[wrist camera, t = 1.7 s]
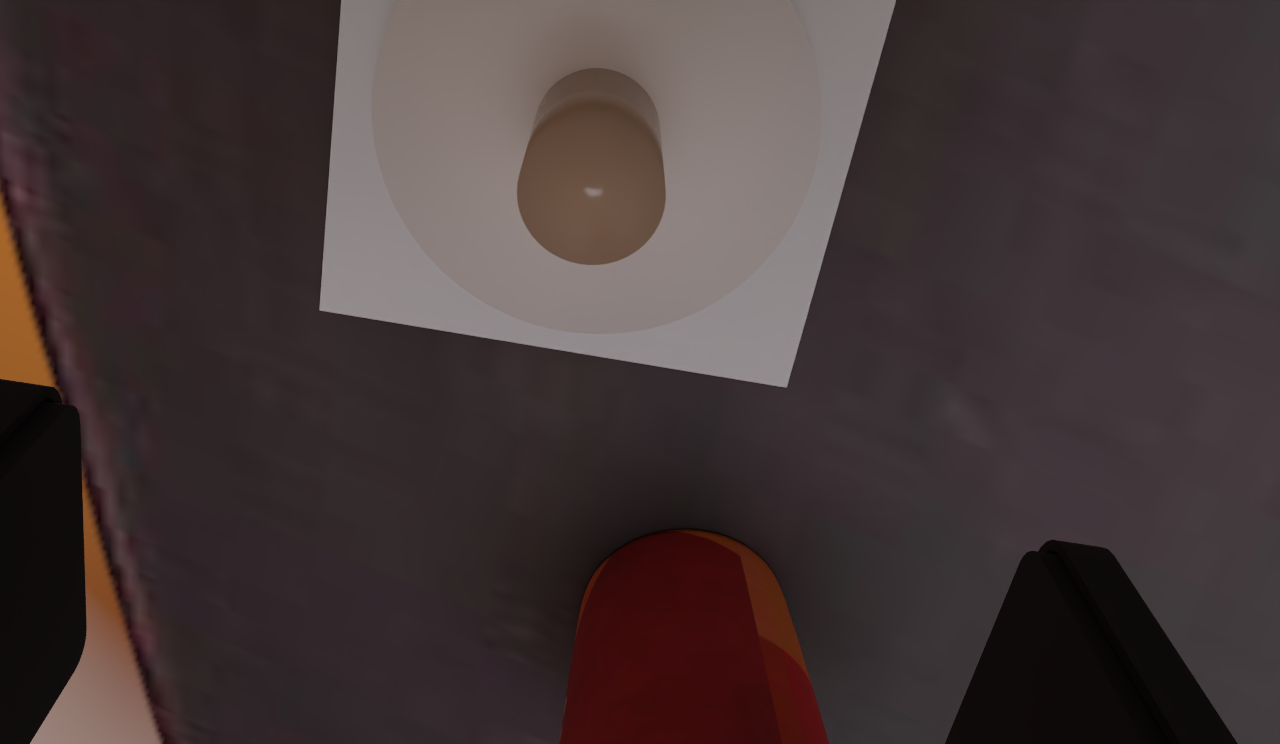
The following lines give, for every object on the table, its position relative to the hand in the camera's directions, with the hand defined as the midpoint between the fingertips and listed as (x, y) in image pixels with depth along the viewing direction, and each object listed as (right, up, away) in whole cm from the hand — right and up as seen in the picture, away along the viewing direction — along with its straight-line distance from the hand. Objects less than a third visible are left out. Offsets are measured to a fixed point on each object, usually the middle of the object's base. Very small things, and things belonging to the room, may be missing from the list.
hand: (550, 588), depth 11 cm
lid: (0, +8, +15) cm, 17 cm away
